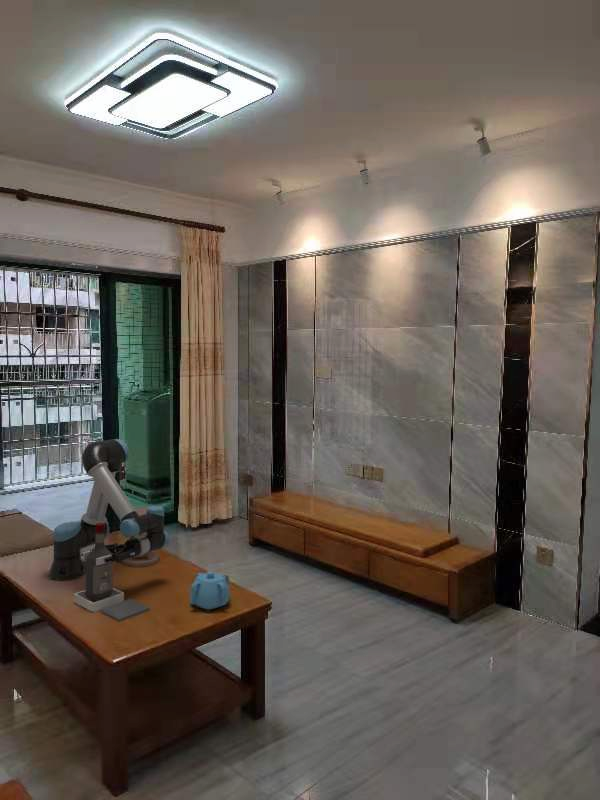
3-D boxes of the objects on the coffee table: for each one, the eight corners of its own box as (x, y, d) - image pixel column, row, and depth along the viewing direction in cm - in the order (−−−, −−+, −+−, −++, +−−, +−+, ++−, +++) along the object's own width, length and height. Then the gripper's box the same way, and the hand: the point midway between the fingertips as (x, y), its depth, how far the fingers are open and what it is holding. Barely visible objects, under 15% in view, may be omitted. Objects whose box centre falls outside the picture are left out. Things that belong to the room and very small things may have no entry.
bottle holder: (73, 602, 238) (73, 593, 238) (104, 591, 249) (104, 583, 249) (92, 612, 229) (92, 603, 229) (124, 601, 240) (124, 593, 240)
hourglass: (116, 560, 289) (116, 510, 288) (148, 553, 301) (148, 505, 300) (132, 569, 276) (132, 518, 275) (165, 562, 288) (165, 512, 287)
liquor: (115, 595, 240) (116, 524, 238) (95, 602, 233) (96, 528, 231) (102, 589, 245) (103, 519, 243) (82, 595, 238) (83, 524, 236)
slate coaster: (100, 611, 230) (100, 609, 230) (130, 601, 240) (130, 598, 240) (119, 621, 221) (119, 619, 221) (149, 610, 232) (149, 607, 232)
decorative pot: (233, 598, 247) (234, 566, 246) (224, 614, 231) (225, 580, 230) (196, 595, 248) (197, 564, 248) (184, 611, 232) (185, 577, 232)
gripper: (152, 561, 245) (104, 575, 228) (121, 549, 259) (75, 561, 241) (152, 543, 245) (105, 556, 227) (122, 532, 258) (75, 543, 241)
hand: (89, 559), depth 234 cm, fingers closed on liquor, 9 cm apart
